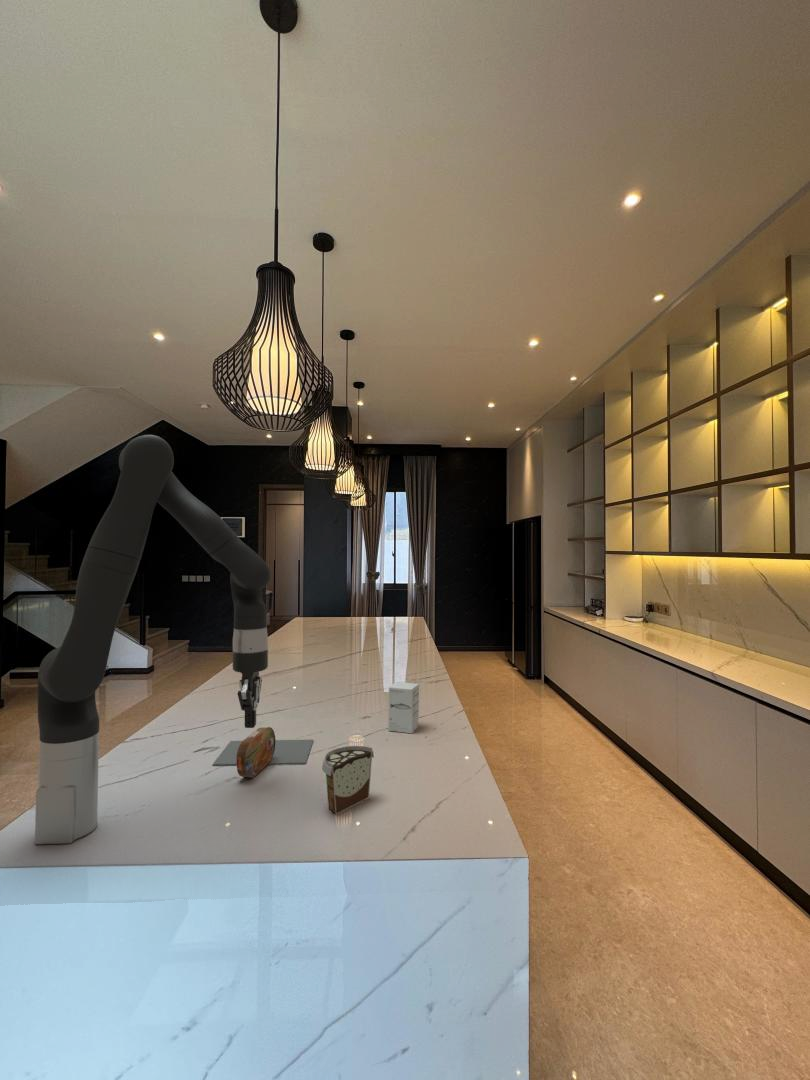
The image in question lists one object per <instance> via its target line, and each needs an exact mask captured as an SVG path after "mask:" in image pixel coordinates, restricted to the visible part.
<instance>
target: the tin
mask: <svg viewBox="0 0 810 1080" xmlns="http://www.w3.org/2000/svg"><path fill="white" fill-rule="evenodd" d="M275 740H276V735H275V731H274V729H273V728H272V727H270V726H267V727H259V728H257V729H256V730H254V731H253V732H252V733H250V734H249V735H248V736H247V737H245V738H244V739H243V740H241V741H242V742H241V744H240V746H239V748H238V751H237V756H236V759H237V766H236V769H237V774H238V775H239V776H240V777H243V778H251V779H252V778H255V777H256V776H258V774H259V773H261V771H262V770H263V769H264V768H265V767H267V766H268V765H267V764H268V763H269V762H270V761H271V759H272V757H273V755H274V751H275Z"/></svg>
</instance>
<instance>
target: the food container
mask: <svg viewBox="0 0 810 1080" xmlns="http://www.w3.org/2000/svg"><path fill="white" fill-rule="evenodd" d="M374 757H375V755H374V750H373V748H372V747H369V746H362V745H347V746H342V747H337V748H334V749H332V750H330V751H328V752H327V753H326V754H325V757H324V758H323V762H322V765H321V768H322V769H321V770H322V771H323V773H324V774H325V778H326V781H325V782H326V790H327V791H326V792H327V803H328V805H327V806H328V811H331V812H332V813H331V812H330V813H331V814H333V815H334V814H335V816H337V815H339V814H341V813H343V812H345V811H347V810H349V809H351V808H353V807H354V805H355V806H356V804H357V803H359V802H361V801H363V800H365V799H366V798H368V797H369V798H370V788H371V775H372V761H373V758H374ZM369 798H368V799H369ZM366 800H367V799H366ZM366 800H365V801H366ZM363 802H364V801H363ZM361 803H362V802H361ZM359 804H360V803H359ZM357 805H358V804H357ZM352 806H353V807H352ZM350 807H351V808H350ZM348 808H349V809H348ZM346 809H347V810H346ZM344 810H345V811H344ZM342 811H343V812H342ZM340 812H341V813H340ZM338 813H339V814H338ZM336 814H337V815H336Z"/></svg>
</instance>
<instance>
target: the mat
mask: <svg viewBox="0 0 810 1080" xmlns="http://www.w3.org/2000/svg"><path fill="white" fill-rule="evenodd" d="M242 741H243V740H230V741H229V743H228V744H226V746H225V747H224V749H223V750H222V751H221V753H220V754H219V755H218V757H217V758H216V759H215V760H214V762H213V763H212V766H213V767H220V766H221V767H227V766H231V767H232V766H233V767H234V766H236V767H237V759H236V756H237V751H238V748H239V746H240V744H241V742H242ZM313 743H314V739H275V751H274V755H273V757H272V759H271V761H270V762H269V763H268V764H267V765H266V766H276V764H289V765H306V764H307V762H308V758H309V755H310V752H311V751H312V750H311V749H312V746H313ZM212 766H211V767H212Z"/></svg>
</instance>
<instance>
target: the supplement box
mask: <svg viewBox="0 0 810 1080" xmlns="http://www.w3.org/2000/svg"><path fill="white" fill-rule="evenodd" d="M419 700H420V683H411V682H400V681H395V682H393V683H392V685H390V686H389V687H388V721H387V722H388V723H387V724H388V727H387V728H388V729H387V730H388V732H399V733H407V734H408V733H409V734H413V733H414V732H415V731H414V730H417V729H418V728H419V717H420V714H419V712H420V711H419V710H420V709H419V708H420V707H419V706H420V704H419V703H420V701H419Z"/></svg>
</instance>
